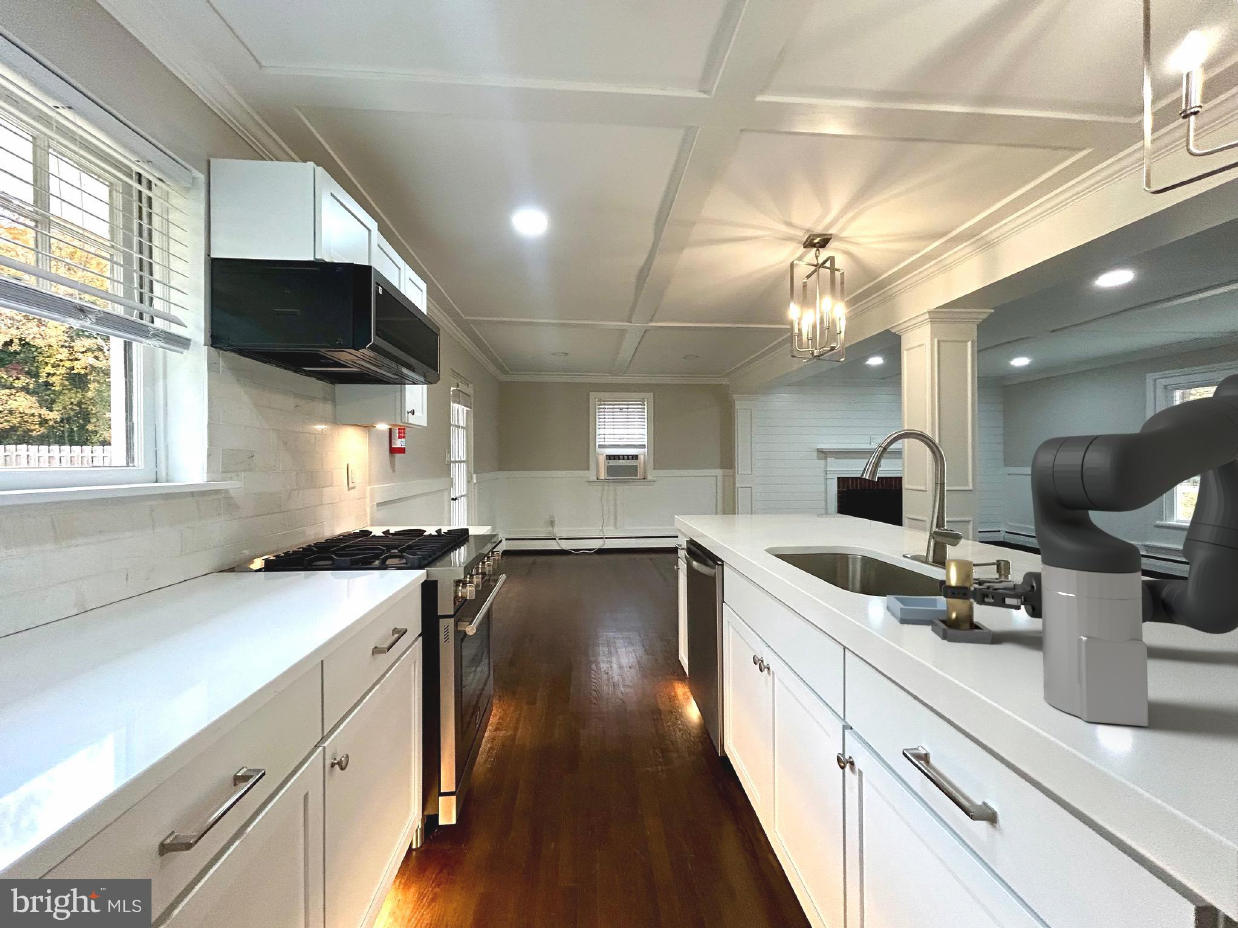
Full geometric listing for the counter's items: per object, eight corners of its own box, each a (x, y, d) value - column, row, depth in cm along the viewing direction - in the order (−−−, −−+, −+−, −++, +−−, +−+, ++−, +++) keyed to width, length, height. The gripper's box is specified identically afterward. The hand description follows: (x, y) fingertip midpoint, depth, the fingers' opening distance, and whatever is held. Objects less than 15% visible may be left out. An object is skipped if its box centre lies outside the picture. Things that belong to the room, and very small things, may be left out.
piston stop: (978, 640, 90) (976, 563, 91) (951, 638, 91) (950, 562, 92) (968, 633, 94) (967, 559, 94) (943, 631, 95) (942, 558, 95)
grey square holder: (994, 644, 88) (994, 632, 88) (944, 641, 90) (944, 629, 90) (975, 630, 96) (975, 619, 96) (929, 628, 97) (929, 617, 97)
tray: (960, 626, 98) (959, 610, 98) (900, 623, 101) (900, 607, 101) (940, 612, 108) (940, 597, 108) (886, 609, 110) (886, 595, 110)
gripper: (1047, 566, 94) (934, 560, 101) (1079, 582, 81) (946, 574, 88) (1048, 609, 94) (935, 600, 101) (1080, 632, 81) (947, 620, 87)
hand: (941, 588), depth 94 cm, fingers closed on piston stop, 4 cm apart
